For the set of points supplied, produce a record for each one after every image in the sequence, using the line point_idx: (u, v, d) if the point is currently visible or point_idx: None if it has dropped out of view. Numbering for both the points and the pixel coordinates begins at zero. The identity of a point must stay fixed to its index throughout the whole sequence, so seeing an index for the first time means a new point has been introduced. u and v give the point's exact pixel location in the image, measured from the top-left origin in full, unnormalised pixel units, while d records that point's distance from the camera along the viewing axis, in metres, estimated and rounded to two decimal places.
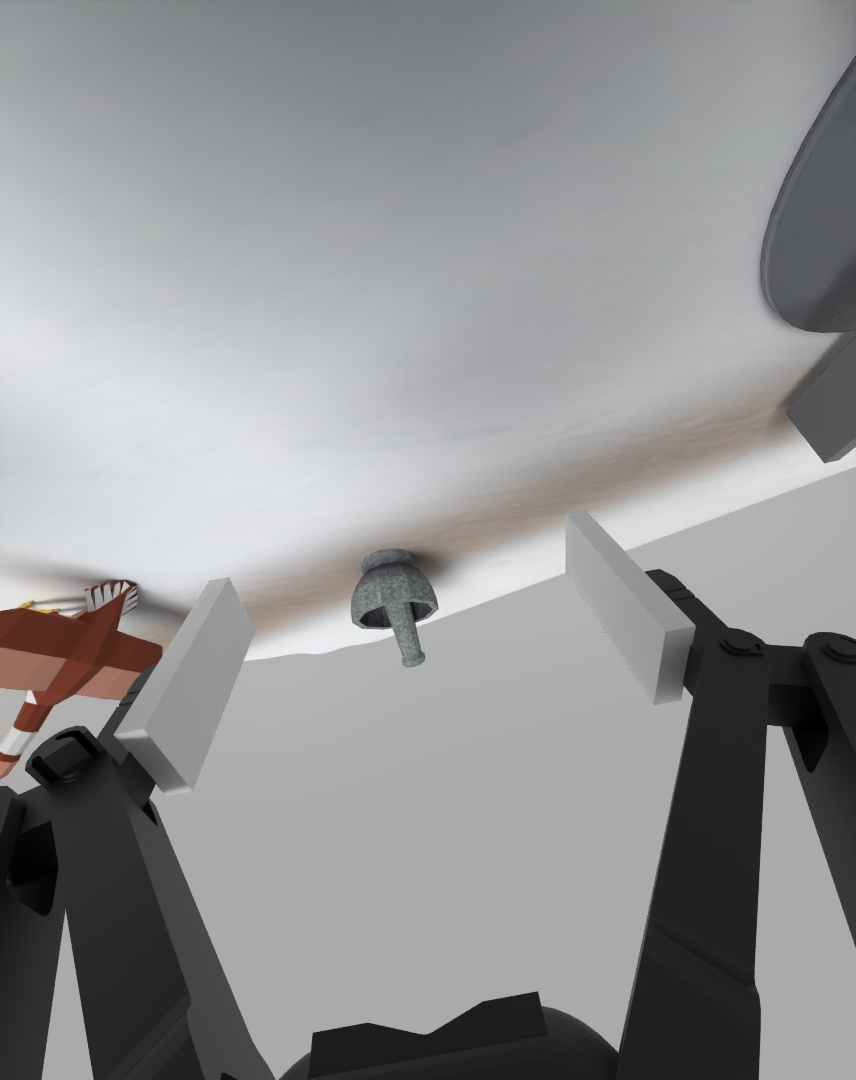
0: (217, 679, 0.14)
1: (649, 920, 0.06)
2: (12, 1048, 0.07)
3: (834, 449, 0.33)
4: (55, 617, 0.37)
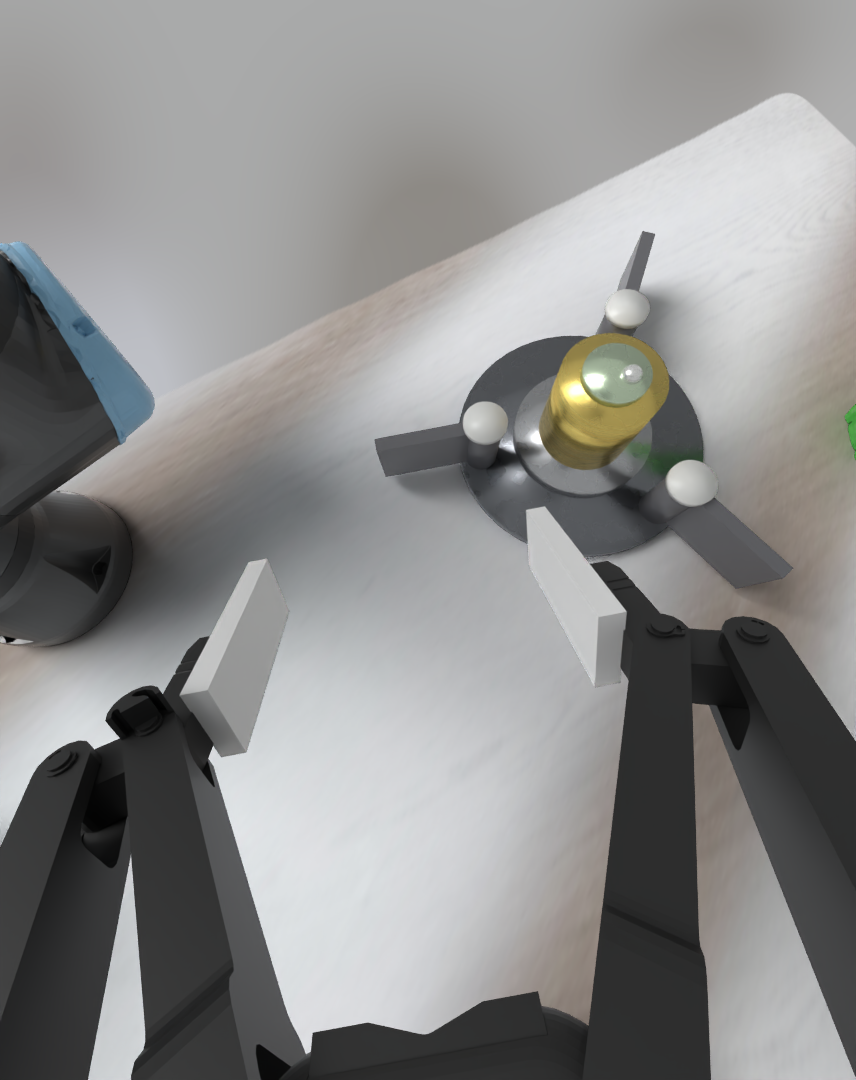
0: (261, 652, 0.15)
1: (603, 903, 0.06)
2: (76, 991, 0.08)
3: (765, 566, 0.33)
4: None
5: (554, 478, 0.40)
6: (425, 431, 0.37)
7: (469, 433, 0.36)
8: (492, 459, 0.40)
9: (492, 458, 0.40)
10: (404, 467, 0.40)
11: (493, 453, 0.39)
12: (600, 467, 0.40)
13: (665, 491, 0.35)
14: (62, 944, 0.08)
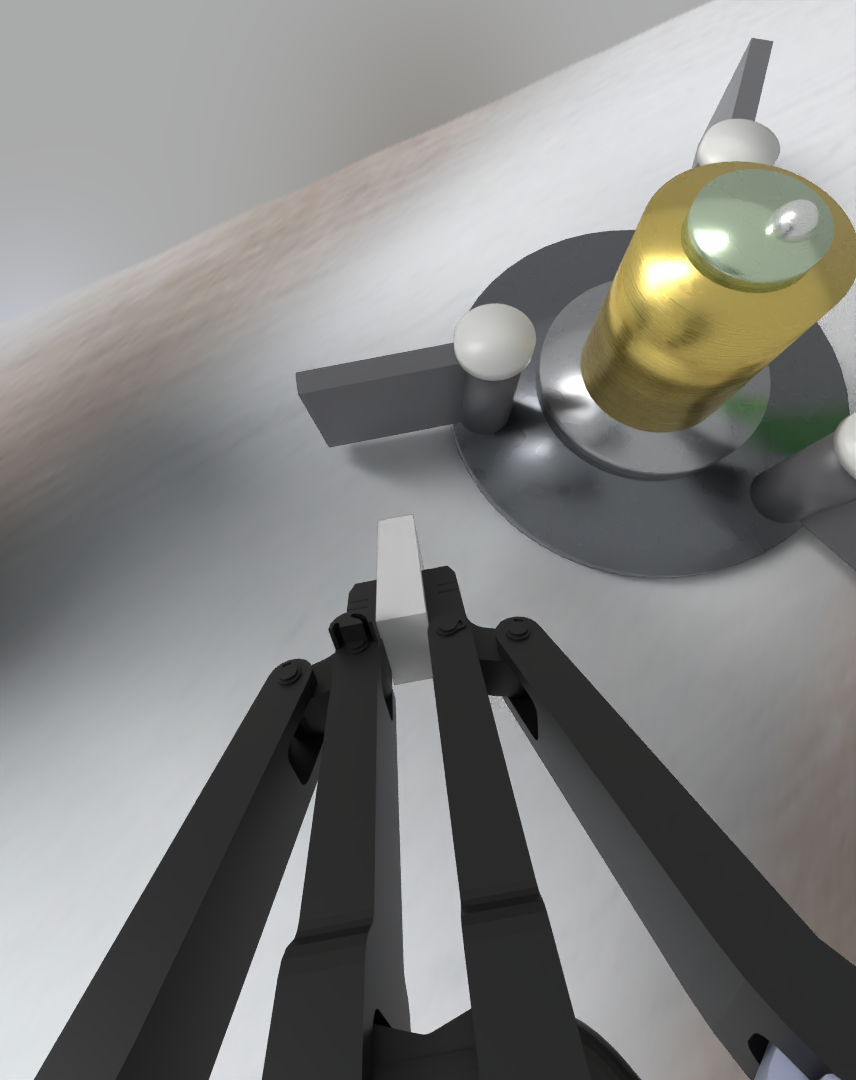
0: None
1: (462, 908, 0.06)
2: (256, 889, 0.08)
3: None
4: None
5: (609, 447, 0.24)
6: (386, 358, 0.20)
7: (465, 358, 0.20)
8: (504, 416, 0.24)
9: (504, 414, 0.24)
10: (357, 429, 0.24)
11: (507, 403, 0.23)
12: (687, 428, 0.24)
13: (829, 463, 0.19)
14: (256, 845, 0.09)
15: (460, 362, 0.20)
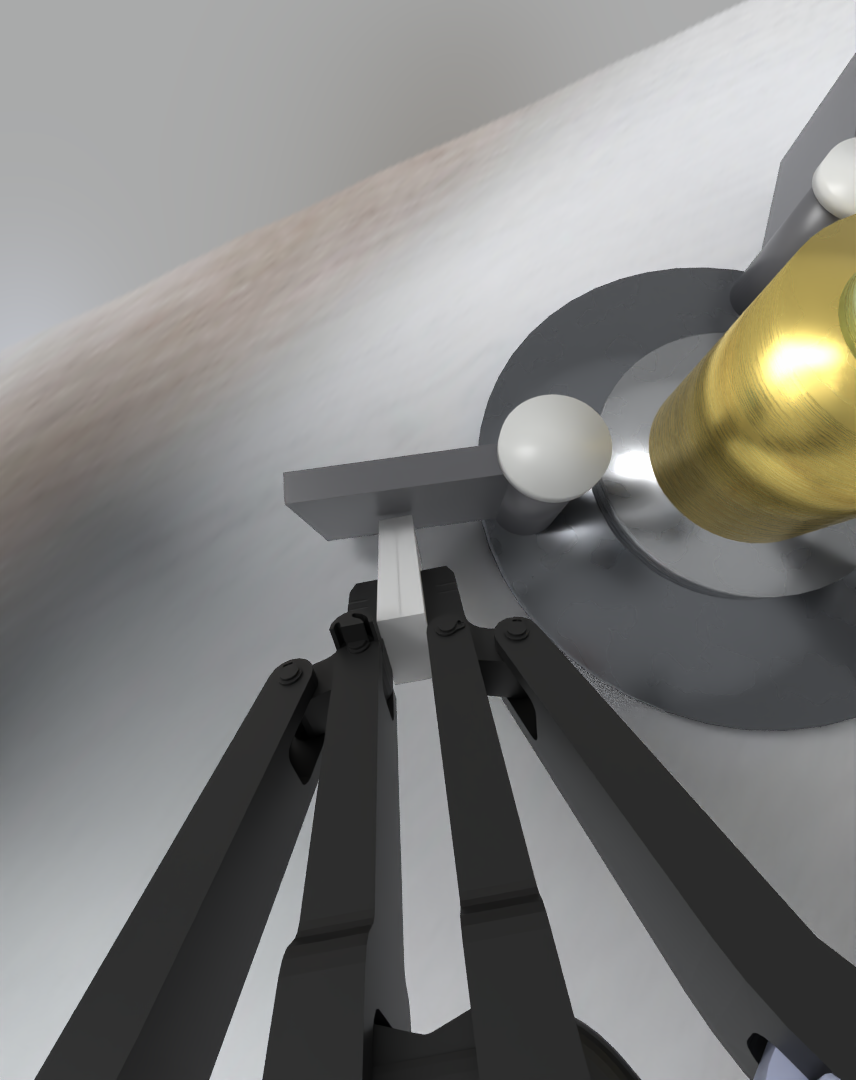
0: None
1: (461, 908, 0.06)
2: (257, 888, 0.09)
3: None
4: None
5: (690, 562, 0.18)
6: (405, 460, 0.15)
7: (514, 473, 0.14)
8: (552, 520, 0.19)
9: (553, 519, 0.19)
10: (363, 527, 0.19)
11: (558, 512, 0.18)
12: (791, 538, 0.18)
13: None
14: (257, 844, 0.09)
15: (505, 474, 0.15)
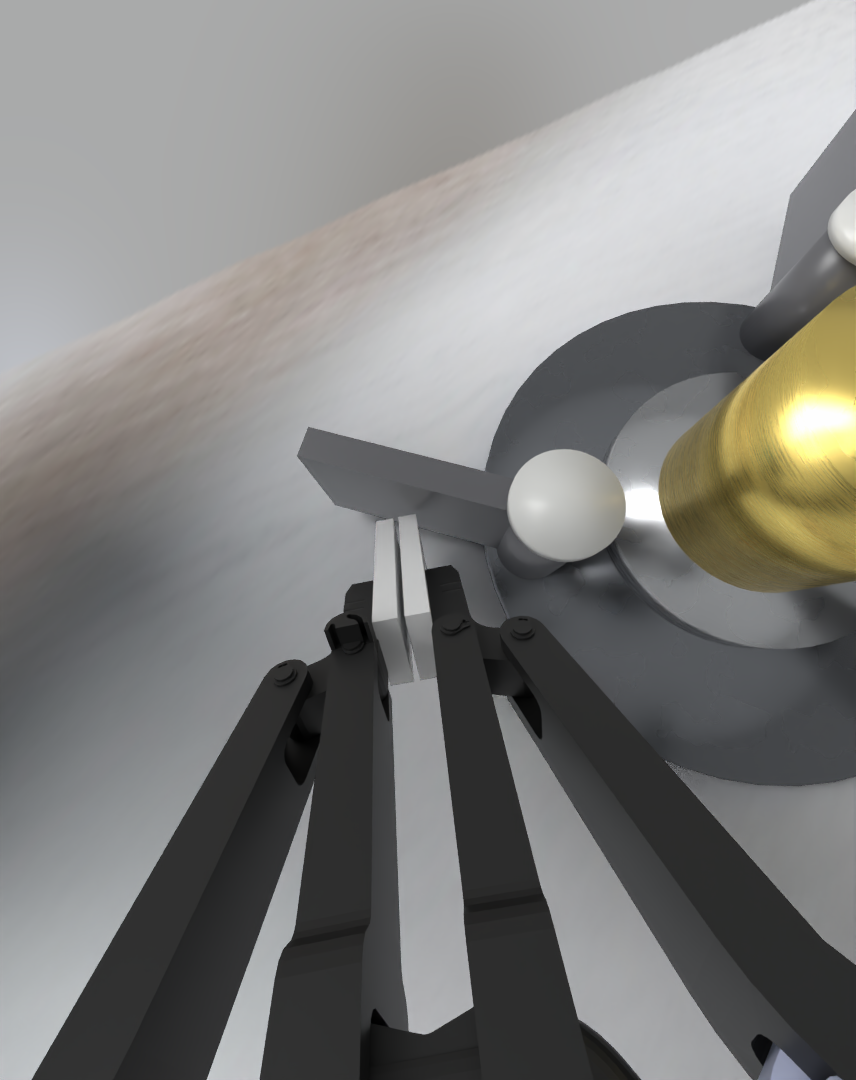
0: (404, 599, 0.16)
1: (464, 906, 0.06)
2: (253, 890, 0.08)
3: None
4: None
5: (701, 612, 0.18)
6: (422, 460, 0.15)
7: (514, 513, 0.14)
8: (547, 573, 0.18)
9: (547, 572, 0.18)
10: (369, 506, 0.19)
11: (553, 568, 0.17)
12: (804, 588, 0.18)
13: None
14: (252, 845, 0.09)
15: (508, 511, 0.14)
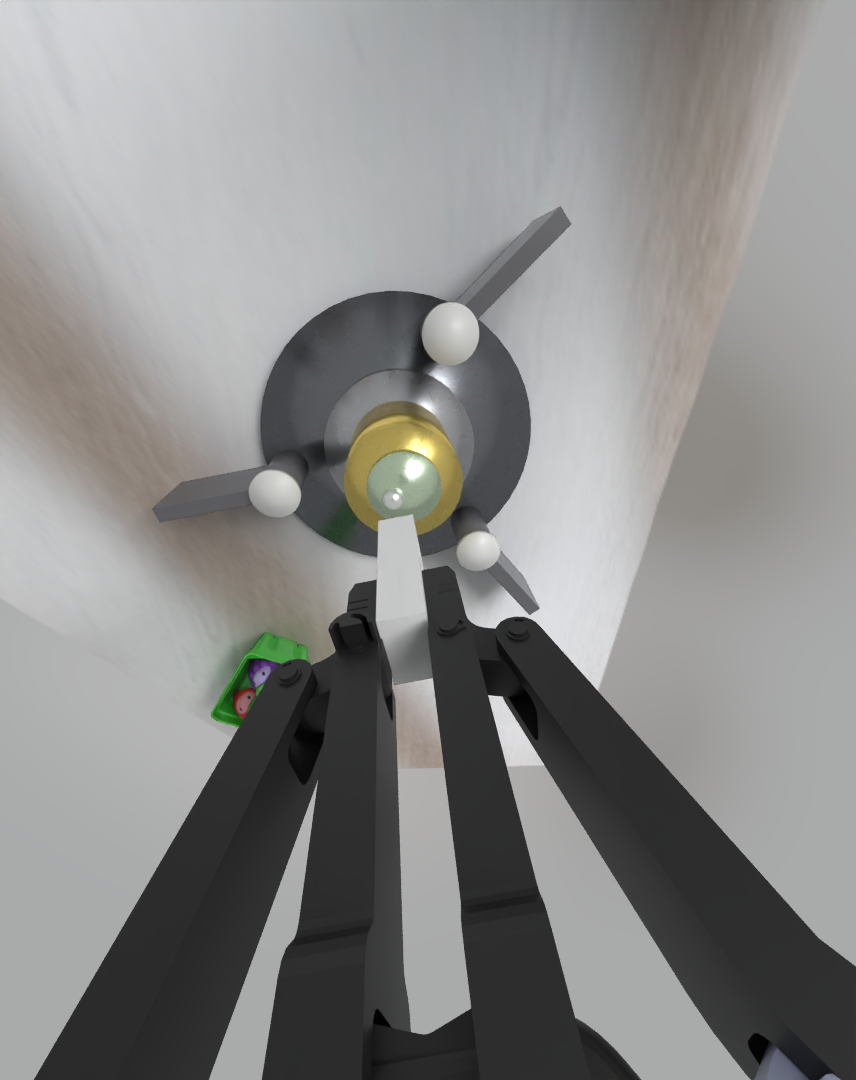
0: None
1: (461, 908, 0.06)
2: (256, 888, 0.09)
3: (170, 503, 0.33)
4: None
5: (364, 388, 0.34)
6: (513, 279, 0.27)
7: (460, 306, 0.27)
8: (422, 323, 0.32)
9: (422, 323, 0.32)
10: (516, 241, 0.30)
11: (423, 323, 0.31)
12: (351, 440, 0.36)
13: (282, 470, 0.33)
14: (256, 844, 0.09)
15: None
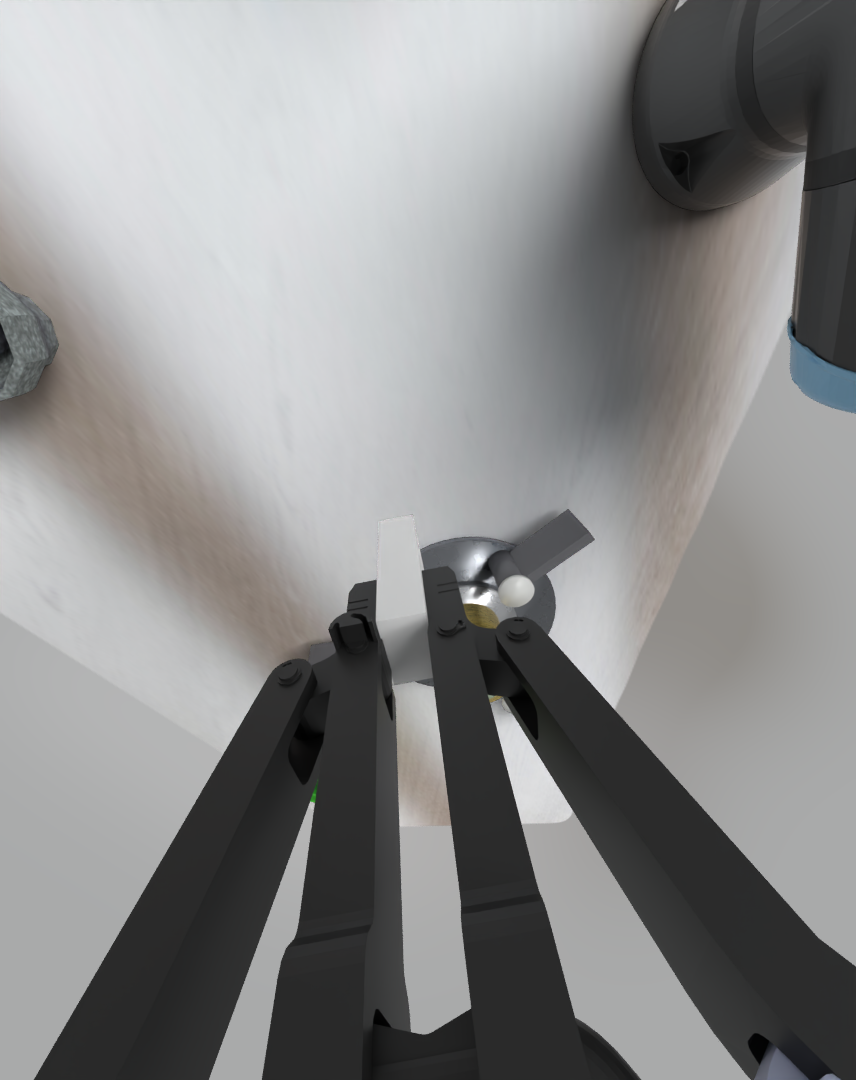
0: None
1: (462, 908, 0.06)
2: (256, 889, 0.08)
3: None
4: None
5: None
6: (557, 564, 0.44)
7: (524, 579, 0.44)
8: (492, 564, 0.49)
9: (493, 565, 0.48)
10: (557, 525, 0.47)
11: (495, 570, 0.48)
12: None
13: None
14: (256, 844, 0.09)
15: (525, 577, 0.44)
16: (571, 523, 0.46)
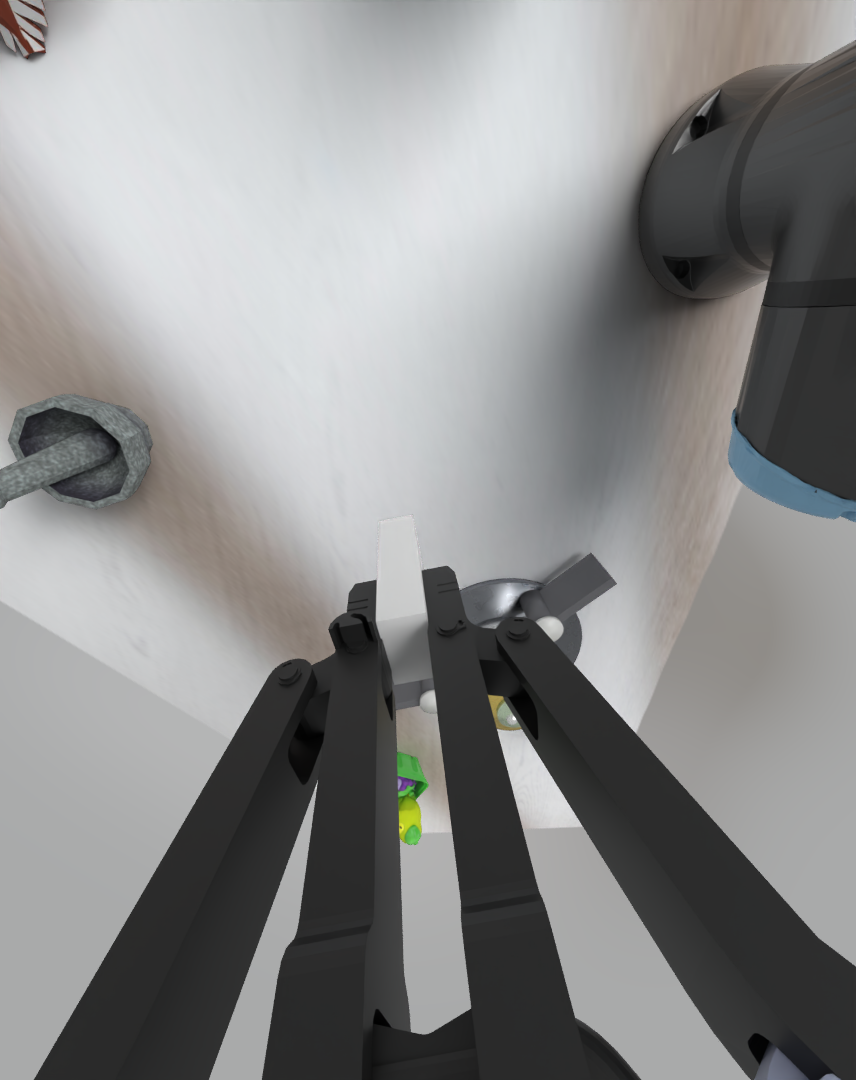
0: None
1: (461, 908, 0.06)
2: (257, 888, 0.09)
3: None
4: None
5: None
6: (583, 605, 0.49)
7: (554, 620, 0.49)
8: (523, 603, 0.54)
9: (524, 604, 0.54)
10: (582, 568, 0.52)
11: (526, 610, 0.53)
12: None
13: None
14: (256, 844, 0.09)
15: (555, 618, 0.50)
16: (594, 567, 0.51)
